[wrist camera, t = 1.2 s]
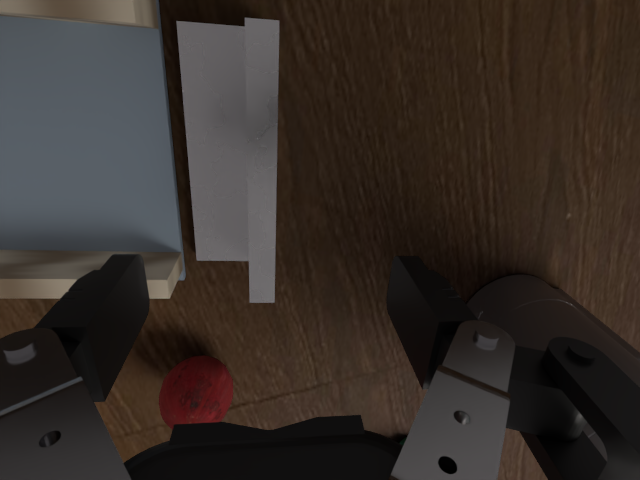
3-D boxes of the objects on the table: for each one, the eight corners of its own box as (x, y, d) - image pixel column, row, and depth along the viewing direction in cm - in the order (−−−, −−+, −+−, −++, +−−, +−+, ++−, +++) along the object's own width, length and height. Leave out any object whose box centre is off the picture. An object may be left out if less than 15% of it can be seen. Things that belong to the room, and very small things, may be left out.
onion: (182, 328, 32) (155, 404, 25) (246, 345, 34) (237, 421, 27) (165, 375, 35) (135, 458, 27) (225, 389, 36) (212, 471, 29)
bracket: (181, 22, 23) (145, 8, 17) (279, 30, 24) (279, 20, 18) (199, 253, 30) (179, 302, 24) (275, 254, 31) (274, 302, 24)
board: (156, -20, 22) (153, -22, 21) (185, 276, 30) (184, 280, 30) (-247, -59, 19) (-262, -63, 19) (-92, 274, 28) (-99, 278, 27)
